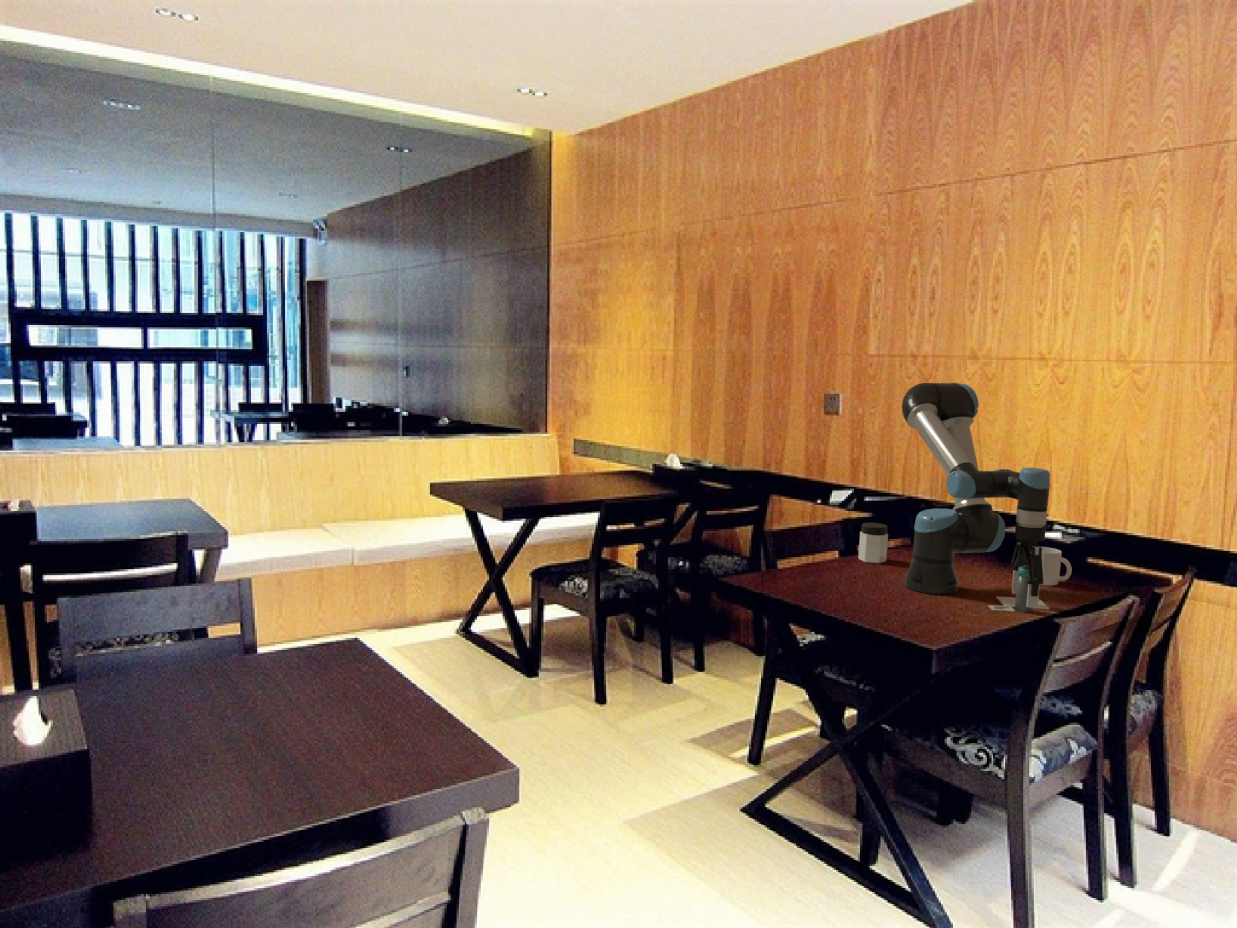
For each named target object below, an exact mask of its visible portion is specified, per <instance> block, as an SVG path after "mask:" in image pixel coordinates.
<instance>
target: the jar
mask: <svg viewBox="0 0 1237 928" xmlns="http://www.w3.org/2000/svg"><path fill="white" fill-rule="evenodd" d="M888 540H889V533H888V526H887V525H886V524H884V523H878V522H864V523H862V524H861V530H860V531H859V543H858V544H859V545H858V560H860V561H862V562H864V563H868V564H869V563H872V564H881V563H885V562H887V554H888Z"/></svg>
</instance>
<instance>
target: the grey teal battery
mask: <svg viewBox="0 0 1237 928" xmlns="http://www.w3.org/2000/svg"><path fill="white" fill-rule="evenodd" d="M1028 581H1030V579H1029V573H1028V566H1027V564H1025V565H1023V566H1021V567H1018V580H1017V590H1016V594H1015V598H1016V601H1015V607H1014V610H1015V612H1018V613H1022V614H1023V613H1024V614H1026V613H1031V611H1032V610H1031V609H1032V608H1029V607H1026V604H1027V593H1028V584H1027V582H1028Z"/></svg>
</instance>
